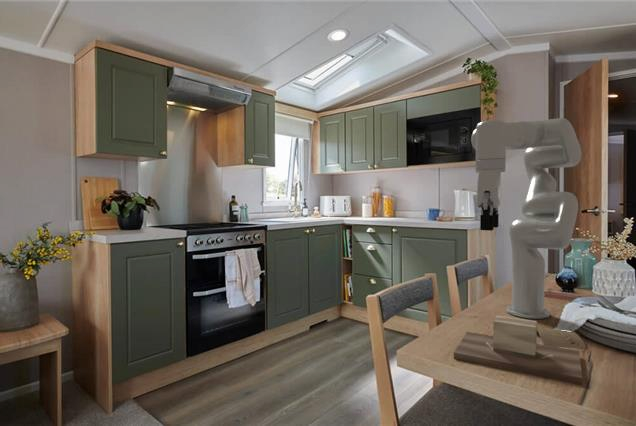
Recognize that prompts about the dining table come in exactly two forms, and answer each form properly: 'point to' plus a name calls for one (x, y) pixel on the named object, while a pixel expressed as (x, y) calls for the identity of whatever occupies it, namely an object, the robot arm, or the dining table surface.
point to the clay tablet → (560, 338)
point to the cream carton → (515, 336)
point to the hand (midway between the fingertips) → (489, 228)
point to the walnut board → (522, 359)
